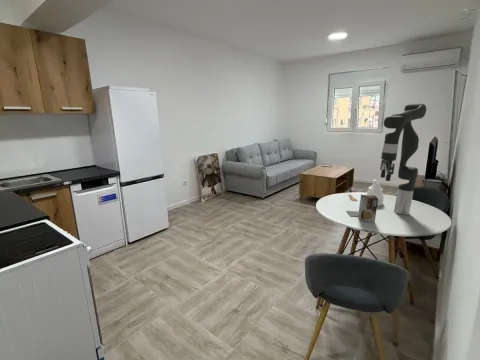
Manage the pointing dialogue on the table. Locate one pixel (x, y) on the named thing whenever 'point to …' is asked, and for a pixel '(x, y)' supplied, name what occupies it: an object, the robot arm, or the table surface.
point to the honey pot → (376, 192)
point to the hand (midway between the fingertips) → (385, 179)
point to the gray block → (353, 213)
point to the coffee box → (368, 208)
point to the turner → (352, 198)
